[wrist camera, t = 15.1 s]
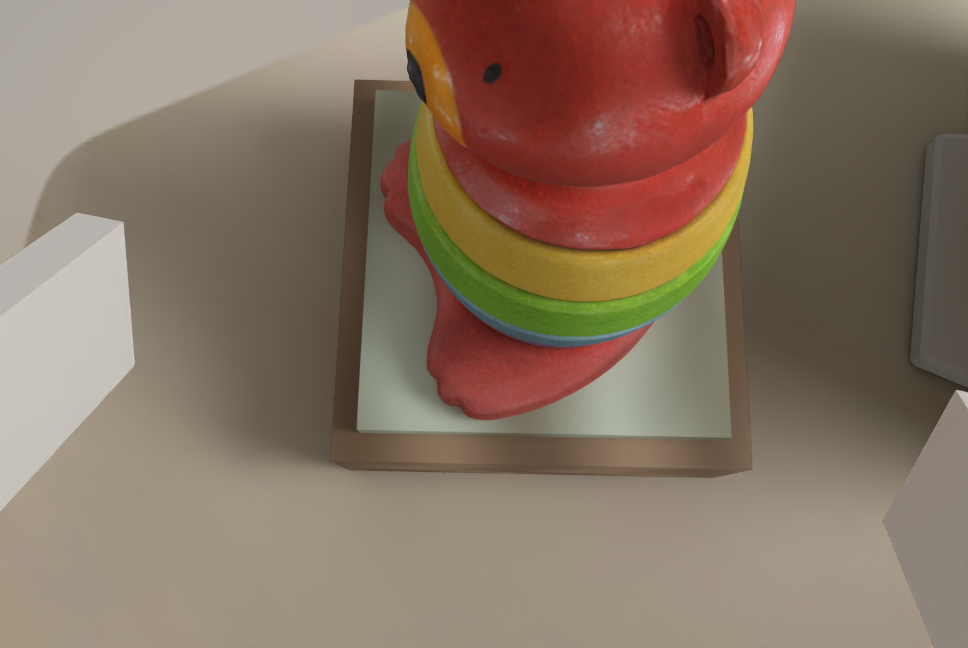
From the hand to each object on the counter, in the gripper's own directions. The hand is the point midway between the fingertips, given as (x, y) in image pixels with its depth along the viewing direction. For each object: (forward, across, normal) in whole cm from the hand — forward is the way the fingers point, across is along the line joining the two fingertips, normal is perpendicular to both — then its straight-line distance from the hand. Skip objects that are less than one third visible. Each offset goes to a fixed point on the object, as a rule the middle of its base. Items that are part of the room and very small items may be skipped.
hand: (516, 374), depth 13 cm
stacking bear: (+16, 0, -6) cm, 17 cm away
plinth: (+21, 0, -10) cm, 23 cm away
